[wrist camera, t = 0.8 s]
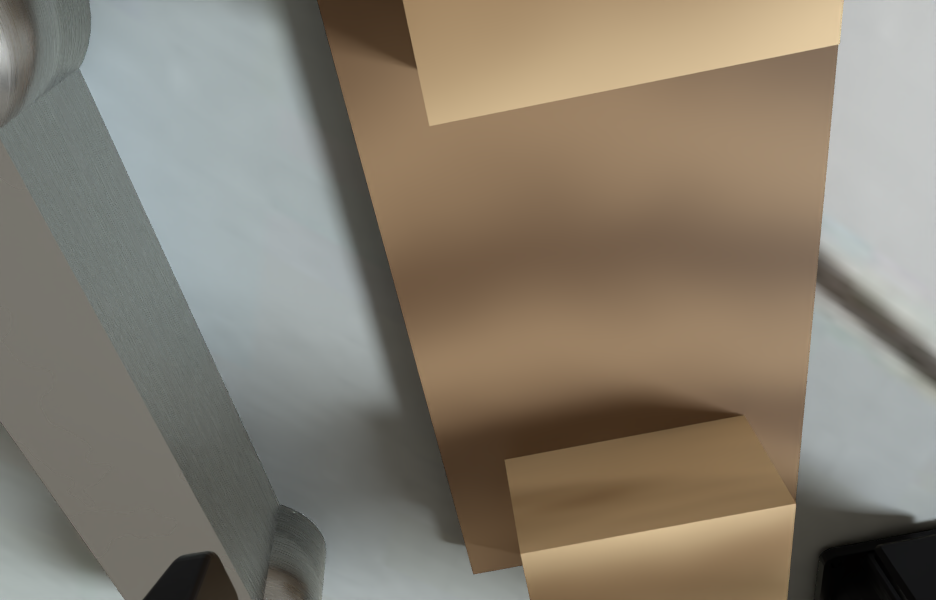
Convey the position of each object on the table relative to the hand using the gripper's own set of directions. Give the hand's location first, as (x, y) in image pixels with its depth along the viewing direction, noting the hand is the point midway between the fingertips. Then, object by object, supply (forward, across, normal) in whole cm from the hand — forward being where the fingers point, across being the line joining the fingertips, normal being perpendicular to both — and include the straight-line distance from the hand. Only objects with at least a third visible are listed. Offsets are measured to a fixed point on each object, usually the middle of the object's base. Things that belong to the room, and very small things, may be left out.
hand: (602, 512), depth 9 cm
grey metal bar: (+13, +11, +5) cm, 18 cm away
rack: (+13, -3, +4) cm, 14 cm away
